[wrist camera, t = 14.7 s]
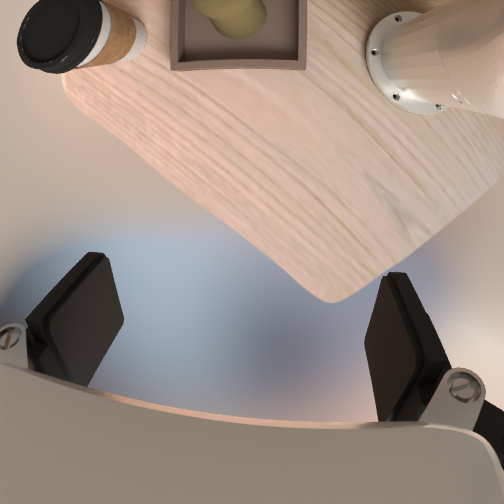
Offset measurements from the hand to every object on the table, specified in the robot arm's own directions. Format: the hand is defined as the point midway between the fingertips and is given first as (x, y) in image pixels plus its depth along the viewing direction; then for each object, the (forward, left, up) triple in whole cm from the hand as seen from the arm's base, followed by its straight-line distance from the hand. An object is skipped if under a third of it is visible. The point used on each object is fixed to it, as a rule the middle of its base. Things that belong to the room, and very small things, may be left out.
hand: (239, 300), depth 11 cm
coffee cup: (+18, -14, -28) cm, 36 cm away
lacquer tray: (+4, -15, -28) cm, 32 cm away
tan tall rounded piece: (+4, -16, -28) cm, 32 cm away
